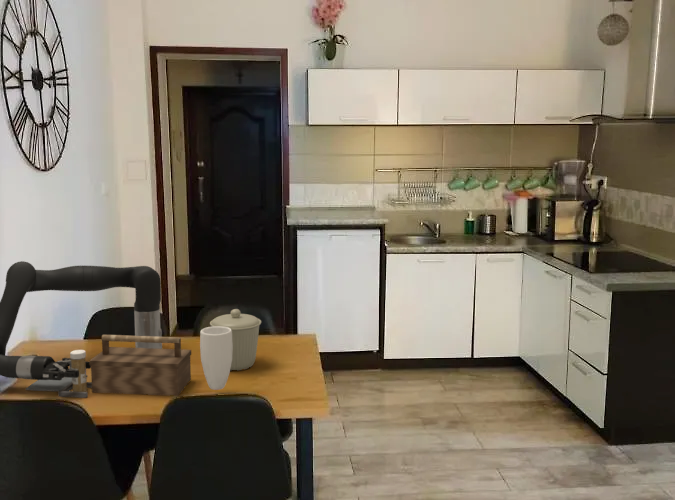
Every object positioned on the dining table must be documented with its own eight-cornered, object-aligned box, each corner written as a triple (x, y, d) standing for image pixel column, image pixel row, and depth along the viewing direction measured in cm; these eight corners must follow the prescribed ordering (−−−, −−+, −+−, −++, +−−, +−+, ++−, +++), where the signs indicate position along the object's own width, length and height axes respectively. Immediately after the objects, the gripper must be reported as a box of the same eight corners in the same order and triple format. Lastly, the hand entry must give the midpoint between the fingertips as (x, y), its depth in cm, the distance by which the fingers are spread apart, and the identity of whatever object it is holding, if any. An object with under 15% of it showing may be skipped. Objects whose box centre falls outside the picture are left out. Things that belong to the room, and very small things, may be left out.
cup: (205, 404, 203) (204, 336, 200) (196, 393, 213) (195, 327, 209) (238, 398, 208) (237, 332, 205) (227, 388, 217) (226, 324, 214)
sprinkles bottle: (89, 392, 212) (87, 352, 209) (74, 395, 209) (71, 354, 207) (85, 388, 215) (83, 348, 213) (70, 390, 213) (68, 350, 211)
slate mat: (25, 390, 213) (25, 388, 213) (47, 375, 227) (47, 373, 227) (68, 391, 212) (67, 390, 212) (87, 376, 226) (87, 375, 226)
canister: (271, 366, 239) (271, 309, 236) (231, 378, 226) (231, 318, 223) (240, 355, 251) (239, 300, 248) (200, 366, 238) (199, 309, 235)
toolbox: (58, 396, 208) (55, 344, 205) (85, 375, 227) (83, 327, 224) (174, 401, 205) (172, 348, 203) (191, 380, 224) (190, 331, 221)
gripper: (22, 363, 204) (73, 365, 203) (46, 349, 218) (93, 351, 217) (24, 386, 206) (74, 388, 204) (47, 371, 220) (94, 373, 218)
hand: (84, 369), depth 211 cm, fingers open, 8 cm apart
